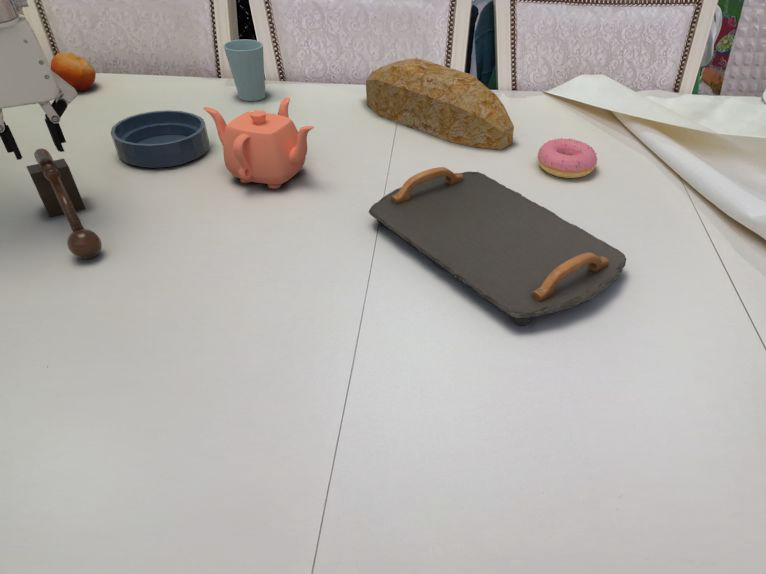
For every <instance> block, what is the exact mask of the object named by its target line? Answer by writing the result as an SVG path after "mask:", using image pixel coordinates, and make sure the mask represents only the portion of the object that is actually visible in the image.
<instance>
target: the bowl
mask: <svg viewBox="0 0 766 574" xmlns="http://www.w3.org/2000/svg"><path fill="white" fill-rule="evenodd" d="M110 136H111V139H112V142H113V144H114V147H115V148H114V149H115V150H116V153H117V156H118V157H119V159H120V160H121V161H122V162H124V163H127V164H128V165H133V166H136V167H143V168H155V169H157V168H159V169H160V168H171V167H176V166H180V165H184V164H187V163H190V162H192V161H194V160H197V159H198V158H200V157H202V156H203V155H205V154H206V153H207V152H208V150H209V149H210V144H211V143H210V138H209V134H208V130H207V126H206V122H205V121H204V119H203V118H202V117H201V116H199V115H197V114H195V113H193V112H187V111H182V110H170V109H168V110H153V111H148V112H142V113H141V112H140V113H137V114H134V115H131V116H128V117H125V118H123V119H120V120H119V121H117V122H116V123H115V124H114V125H113V126H111V129H110Z"/></svg>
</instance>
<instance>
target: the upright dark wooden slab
mask: <svg viewBox="0 0 766 574" xmlns="http://www.w3.org/2000/svg"><path fill="white" fill-rule="evenodd" d="M53 160H54V159H53ZM54 162H55V164H56V166H57V168H58V170H59V172H60V174H61V177H60V179H61V181H62V183H63V185H64V188H65V190H66V192H67V194H68V196H69V198H70V200H71V202H72V205H73V207H74V209H75V211H76V212H77V211H81V210H86V206H85V203H84V200H83V199H82V196H81V193H80V191H79V188H78V186H77V184H76V180H75V179H74V176H73V174H72V171H71V169H70V167H69V165H68V163H67V161H66V159H65V158H60V159H55V160H54ZM25 167H26V168H27V171H28V174H29V176H30V178H31V180H32V182H33V185H34V187H35V189H36V191H37V193H38V195H39V198H40V199H41V202H42V204H43V206H44V208H45V211H46V213H47V215H48V217H49V218H51V217H56V216H60V215H65V214H64V212H63V210H62V208H61V205H60V203H59V201H58V199H57V197H56V195H55V193H54V190H53V188H52V186H51V184H50V182H49V181H48V180H47V179H46V178H45V177H44V175H43V173H42V171H41V169H40V167H39V165H38V163H34V164H30V165H26V166H25Z"/></svg>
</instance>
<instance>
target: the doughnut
mask: <svg viewBox="0 0 766 574" xmlns="http://www.w3.org/2000/svg"><path fill="white" fill-rule="evenodd" d="M536 157H537V160H538V164H539V166H540V167H541V169H542V170H543V171H545V172H546V173H548V174H550V175H552V176H555V177H559V178H563V179H577V178H583V177H585V176H587V175H589V174H591V172H593V171H594V169H595V167H596V165H597V163H598V156H597V153H596V151H595V150H594V148H593V146H590V145H589V144H588V143H585V142H584V141H580V140H577V139H573V138H562V137H561V138H554V139H551V140H548V141H547V142H544V143H543V144H542V145H541V146H540V148H539V149H538V151H537V156H536Z"/></svg>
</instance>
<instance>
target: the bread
mask: <svg viewBox="0 0 766 574" xmlns="http://www.w3.org/2000/svg"><path fill="white" fill-rule="evenodd" d="M365 93H366V105H367V107H368V108H369V109H370V110H371V111H373V112H374V113H375V114H376V115H378V116H379V117H381V118H384V119H387V120H389V121H392V122H395V123H397V124H400V125H403V126H405V127H408V128H411V129H414V130H417V131H419V132H423V133H425V134H428V135H431V136H434V137H435V138H439V139H442V140H444V141H447V142H450V143H453V144H458V145H464V146H469V147H475V148H481V149H490V150H491V149H492V150H500V151H501V150H503V149H505V148H507V147H509V146H511V145H512V144H513V139H514V129H515V125H514V123H513V121H512V119H511V117H510V115H509V113H508V111H507V109H506V107H505V104H504V103H503V102H502V101H501V99H500V97H499V96H498V95H497V94H496V93H495V92H494V91H492V90H491V89H490V88H488V86H486V85H485V84H484V83H482V82H481V81H480V80H479V79H478V78H477V77H476V76H474V75H473V74H471V73H468V72H465V71H461V70H459V69H454V68H451V67H449V66H445V65H442V64H438V63H434V62H433V61H432V62H431V61H428V60H424V59H422V58H418V57H414V58H409V59H403V60H398V61H394V62H391V63H389V64H386V65H382V66H381V67H379V68H376V69H375V70H373V71H371V73H370V74H369V75H368V77H367V78H366V80H365Z"/></svg>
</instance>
